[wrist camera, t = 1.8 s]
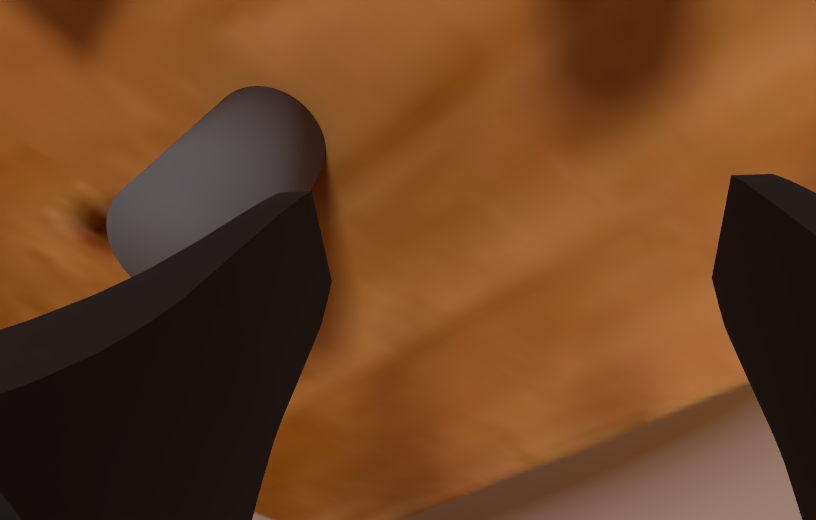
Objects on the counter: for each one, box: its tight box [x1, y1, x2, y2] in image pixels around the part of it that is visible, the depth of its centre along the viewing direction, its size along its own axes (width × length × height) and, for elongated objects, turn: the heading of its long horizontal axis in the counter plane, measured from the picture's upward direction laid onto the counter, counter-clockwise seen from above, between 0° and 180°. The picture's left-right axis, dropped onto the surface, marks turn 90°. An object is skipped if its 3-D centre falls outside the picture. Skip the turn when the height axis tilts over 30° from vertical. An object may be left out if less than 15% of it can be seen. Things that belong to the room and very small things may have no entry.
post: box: [107, 86, 326, 278], centre depth 18 cm, size 4×4×6 cm
